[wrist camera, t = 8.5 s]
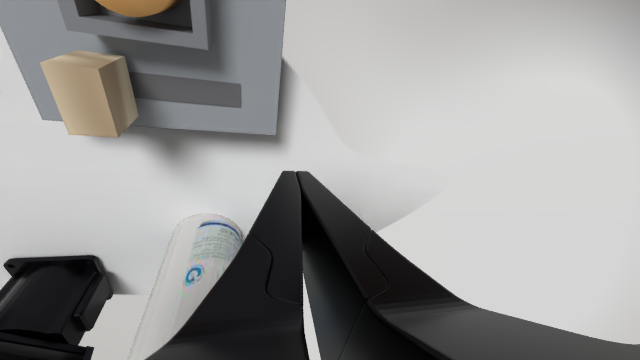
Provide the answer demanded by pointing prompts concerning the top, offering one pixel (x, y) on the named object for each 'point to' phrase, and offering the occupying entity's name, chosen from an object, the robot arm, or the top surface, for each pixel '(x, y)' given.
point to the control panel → (164, 57)
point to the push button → (138, 6)
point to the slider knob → (92, 92)
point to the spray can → (185, 278)
